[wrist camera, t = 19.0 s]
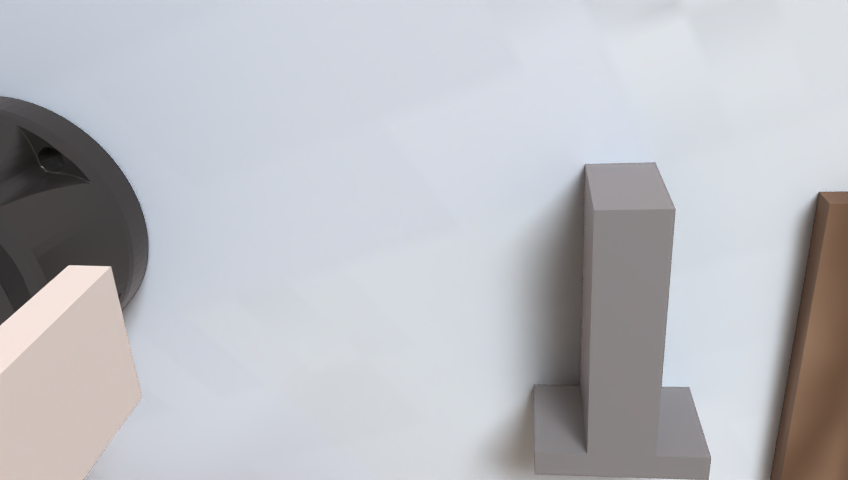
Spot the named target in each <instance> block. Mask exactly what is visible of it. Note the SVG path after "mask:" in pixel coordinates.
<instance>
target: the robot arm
mask: <svg viewBox="0 0 848 480" xmlns="http://www.w3.org/2000/svg"><path fill="white" fill-rule="evenodd" d="M147 258H148V236H147V229H146V224H145V220H144V216H143V213H142V210H141V207H140V204H139V201H138V199H137V197H136V195H135V193H134V191H133V189H132V187H131V185H130V183H129V182H128V180H127V178H126V177H125V175H124V174H123V172H122V171H121V169H120V168H119V166H118V165H117V164H116V163H115V161H114V160H113V159H112V158H111V157H110V155H109V154H108V153H107V152H106V151H105V150H104V149H103V148H102V147H101V146H100V145H99V144H98V143H97V142H96V141H95V140H94V139H92V138H91V137H90V136H89V135H88V134H87V133H85V132H84V131H83V130H81V129H80V128H79V127H77V126H76V125H74V124H73V123H72V122H70V121H68V120H67V119H65V118H63V117H62V116H60V115H58V114H56V113H54V112H52V111H50V110H48V109H45V108H43V107H41V106H38V105H35V104H33V103H29V102H26V101H23V100H19V99H14V98H9V97H1V96H0V480H83V479H84V478H85V477H86V475H87V474H88V472H89V471H90V470H91V468H92V467H93V465H94V464H95V463H96V461H97V460H98V458H99V457H100V456H101V454H102V453H103V451H104V450H105V449H106V447H107V446H108V444H109V443H110V442H111V440H112V439H113V437H114V436H115V435H116V433H117V432H118V430H119V429H120V428H121V426H122V425H123V423H124V422H125V421H126V419H127V418H128V416H129V415H130V413H131V412H132V411H133V409H134V408H135V406H136V405H137V404H138V402H139V401H140V399H141V398H142V394H141V389H140V385H139V381H138V377H137V373H136V369H135V364H134V360H133V356H132V352H131V348H130V344H129V339H128V335H127V331H126V327H125V323H124V318H123V314H122V309H123V308H124V307H125V306H126V305H127V304H128V303H129V301H130V300H131V299H132V298H133V296H134V295H135V293H136V292H137V290H138V288H139V286H140V284H141V282H142V279H143V277H144V273H145V270H146V265H147Z"/></svg>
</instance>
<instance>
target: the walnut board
mask: <svg viewBox="0 0 848 480" xmlns="http://www.w3.org/2000/svg"><path fill="white" fill-rule="evenodd" d="M771 480H848V192H819V197H818V203H817V209H816V215H815V220H814V226H813V232H812V238H811V244H810V250H809V256H808V262H807V267H806V273H805V279H804V285H803V291H802V297H801V303H800V309H799V314H798V320H797V326H796V332H795V338H794V344H793V350H792V356H791V361H790V367H789V373H788V379H787V385H786V391H785V397H784V403H783V408H782V414H781V420H780V426H779V432H778V438H777V444H776V450H775V455H774V461H773V467H772V473H771Z"/></svg>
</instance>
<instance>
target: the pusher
mask: <svg viewBox="0 0 848 480" xmlns="http://www.w3.org/2000/svg"><path fill="white" fill-rule="evenodd" d="M674 222H675V207H674V204H673V202H672V200H671V198H670V195H669V193H668V191H667V188H666V186H665V184H664V181H663V179H662V177H661V175H660V172H659V170H658V168H657V165H656V163H655V162H653V163H612V164H585V199H584V243H583V288H582V333H581V377H580V385H534V458H535V474H544V475H573V476H603V477H632V478H662V479H691V480H709V472H710V464H711V456H710V452H709V449H708V446H707V443H706V440H705V436H704V433H703V430H702V427H701V424H700V420H699V417H698V414H697V411H696V407H695V404H694V401H693V398H692V395H691V391H690V388H689V387H661V386H662V373H663V361H664V348H665V336H666V323H667V310H668V298H669V285H670V272H671V260H672V247H673V235H674Z"/></svg>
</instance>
